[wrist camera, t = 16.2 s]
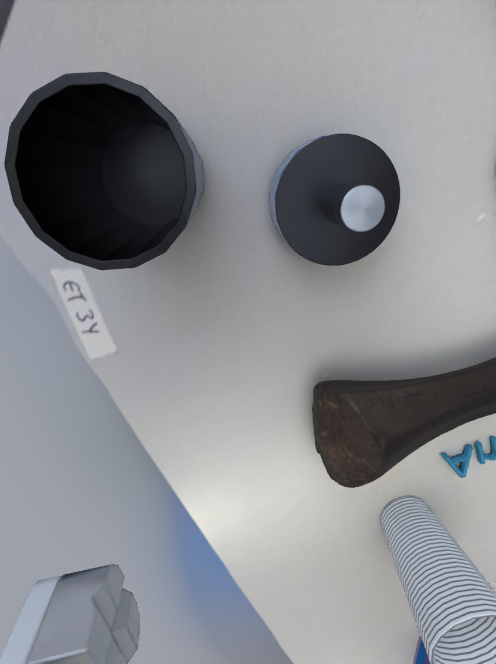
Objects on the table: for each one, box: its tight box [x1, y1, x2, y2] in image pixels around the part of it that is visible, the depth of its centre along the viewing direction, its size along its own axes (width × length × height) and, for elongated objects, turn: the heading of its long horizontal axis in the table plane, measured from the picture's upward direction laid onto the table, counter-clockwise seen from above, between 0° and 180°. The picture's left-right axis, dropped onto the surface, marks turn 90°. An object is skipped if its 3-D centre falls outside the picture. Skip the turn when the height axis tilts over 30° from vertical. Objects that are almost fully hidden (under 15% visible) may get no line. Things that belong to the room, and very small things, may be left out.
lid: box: [275, 134, 400, 265], centre depth 31 cm, size 10×10×7 cm
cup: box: [381, 496, 496, 664], centre depth 44 cm, size 8×8×16 cm
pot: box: [5, 72, 204, 270], centre depth 29 cm, size 9×9×16 cm
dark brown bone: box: [312, 358, 496, 488], centre depth 42 cm, size 11×10×28 cm
